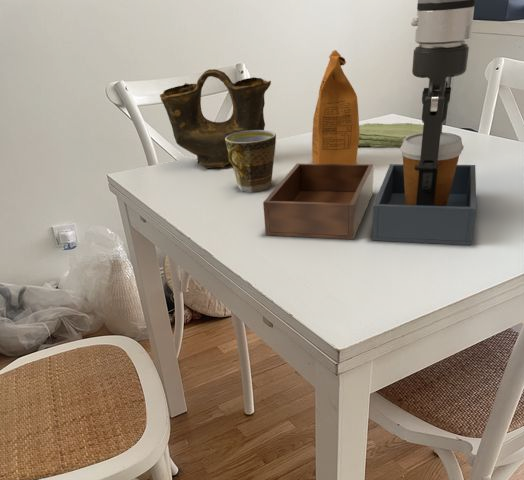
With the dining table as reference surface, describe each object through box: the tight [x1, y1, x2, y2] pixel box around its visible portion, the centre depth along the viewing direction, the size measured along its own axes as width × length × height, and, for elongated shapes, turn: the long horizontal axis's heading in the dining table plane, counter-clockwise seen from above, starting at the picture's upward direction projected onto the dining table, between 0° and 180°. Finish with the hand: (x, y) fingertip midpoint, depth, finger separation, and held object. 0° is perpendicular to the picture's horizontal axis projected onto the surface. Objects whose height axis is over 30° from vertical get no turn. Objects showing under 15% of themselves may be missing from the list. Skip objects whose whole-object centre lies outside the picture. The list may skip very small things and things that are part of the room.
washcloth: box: [358, 122, 424, 148], centre depth 132 cm, size 13×18×3 cm
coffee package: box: [311, 49, 360, 164], centre depth 113 cm, size 10×12×22 cm
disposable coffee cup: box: [399, 131, 465, 206], centre depth 87 cm, size 10×10×12 cm
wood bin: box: [262, 162, 375, 240], centre depth 94 cm, size 15×22×6 cm
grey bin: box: [371, 163, 477, 246], centre depth 89 cm, size 15×22×6 cm
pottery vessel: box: [159, 68, 272, 169], centre depth 122 cm, size 25×11×20 cm, turn 89°
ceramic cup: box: [225, 129, 277, 193], centre depth 107 cm, size 13×10×10 cm
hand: (426, 200), depth 89 cm, fingers closed on disposable coffee cup, 8 cm apart
